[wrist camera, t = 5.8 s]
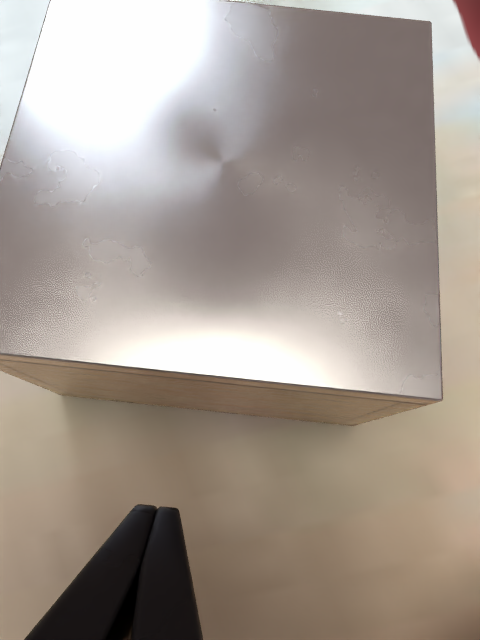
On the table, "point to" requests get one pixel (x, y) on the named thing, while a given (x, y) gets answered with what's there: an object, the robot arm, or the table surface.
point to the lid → (226, 198)
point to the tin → (205, 394)
